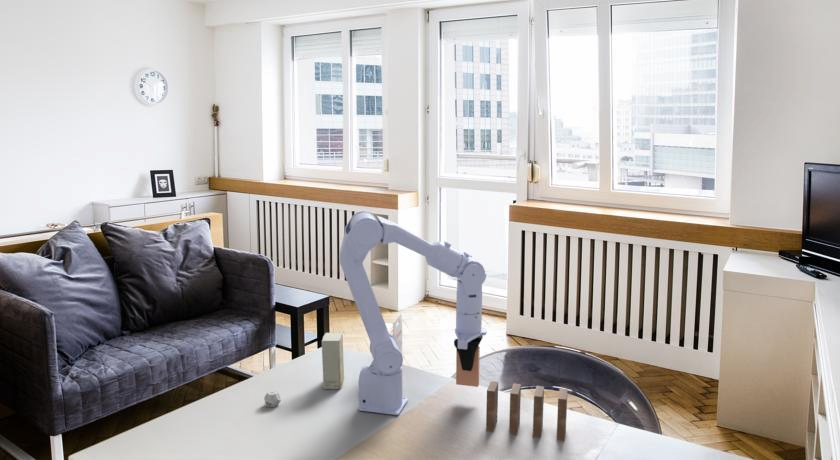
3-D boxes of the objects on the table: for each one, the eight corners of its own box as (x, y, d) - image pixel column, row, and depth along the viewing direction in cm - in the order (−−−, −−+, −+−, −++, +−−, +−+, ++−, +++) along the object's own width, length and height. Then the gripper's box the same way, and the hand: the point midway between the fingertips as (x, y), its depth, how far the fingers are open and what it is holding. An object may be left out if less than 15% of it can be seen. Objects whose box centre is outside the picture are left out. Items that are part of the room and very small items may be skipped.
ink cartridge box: (384, 365, 173) (383, 311, 170) (402, 367, 172) (402, 312, 169) (375, 378, 164) (374, 322, 162) (395, 380, 163) (394, 323, 161)
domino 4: (556, 440, 135) (558, 398, 133) (558, 428, 140) (559, 388, 138) (564, 441, 134) (566, 399, 133) (565, 429, 139) (567, 389, 137)
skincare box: (341, 389, 158) (339, 341, 156) (322, 389, 158) (321, 341, 156) (344, 378, 164) (343, 332, 162) (326, 378, 164) (325, 331, 162)
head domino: (477, 386, 151) (478, 349, 149) (456, 384, 152) (456, 347, 150) (479, 384, 152) (479, 346, 151) (457, 381, 154) (458, 344, 152)
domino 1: (486, 431, 138) (486, 390, 137) (489, 420, 143) (490, 380, 141) (493, 432, 138) (494, 391, 136) (497, 421, 143) (498, 381, 141)
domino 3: (532, 437, 136) (534, 395, 134) (534, 425, 141) (536, 385, 139) (540, 438, 136) (542, 396, 134) (542, 426, 140) (544, 386, 139)
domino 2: (509, 434, 137) (510, 393, 135) (512, 422, 142) (513, 383, 140) (516, 435, 137) (518, 394, 135) (519, 423, 142) (520, 384, 140)
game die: (272, 410, 148) (271, 397, 147) (261, 405, 150) (260, 393, 149) (284, 404, 151) (283, 392, 150) (273, 400, 153) (272, 388, 152)
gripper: (481, 322, 141) (479, 382, 144) (491, 303, 155) (490, 358, 157) (448, 319, 143) (447, 379, 145) (462, 300, 156) (461, 355, 159)
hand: (467, 368), depth 151 cm, fingers closed on head domino, 2 cm apart
